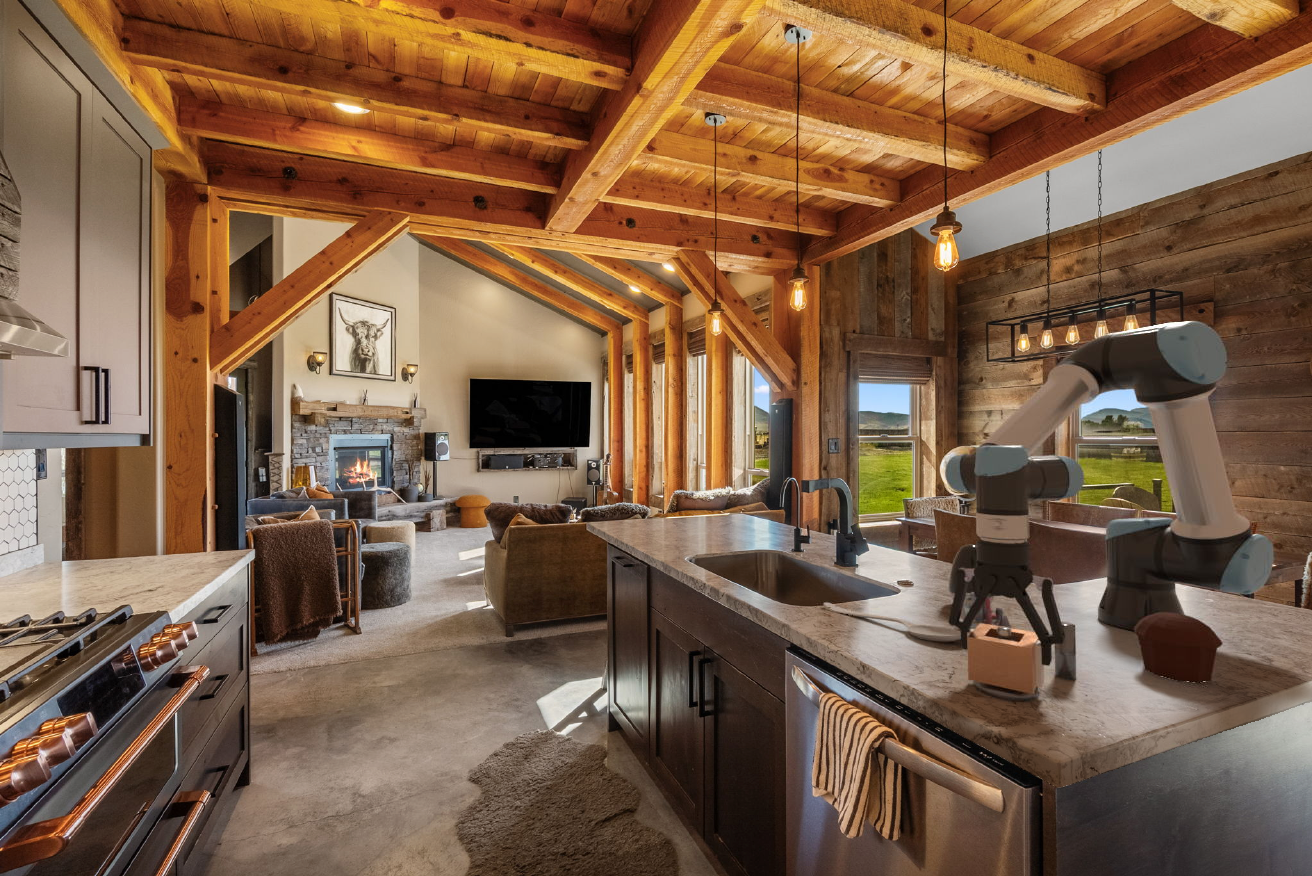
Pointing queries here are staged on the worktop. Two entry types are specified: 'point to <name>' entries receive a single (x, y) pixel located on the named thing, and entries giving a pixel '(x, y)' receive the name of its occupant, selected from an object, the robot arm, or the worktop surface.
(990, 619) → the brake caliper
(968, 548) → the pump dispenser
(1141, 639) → the muffin
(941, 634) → the spoon
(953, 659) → the worktop surface
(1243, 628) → the worktop surface
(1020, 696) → the cylinder
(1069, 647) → the stand rod
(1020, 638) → the collar
